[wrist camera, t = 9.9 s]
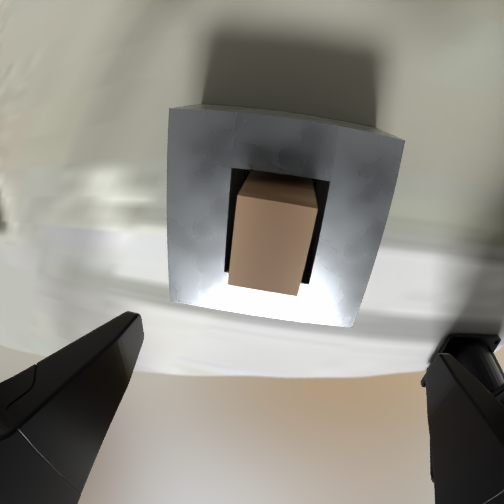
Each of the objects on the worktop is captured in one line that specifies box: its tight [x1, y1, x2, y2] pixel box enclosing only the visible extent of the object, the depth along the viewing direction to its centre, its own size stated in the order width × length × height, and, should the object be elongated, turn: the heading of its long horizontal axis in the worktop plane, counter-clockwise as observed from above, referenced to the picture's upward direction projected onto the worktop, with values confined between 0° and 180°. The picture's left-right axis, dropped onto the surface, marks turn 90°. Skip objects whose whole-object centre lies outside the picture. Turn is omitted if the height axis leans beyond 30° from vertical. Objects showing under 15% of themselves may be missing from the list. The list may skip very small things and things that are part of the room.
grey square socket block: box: [167, 104, 405, 328], centre depth 16 cm, size 10×10×5 cm
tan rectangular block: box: [228, 170, 318, 296], centre depth 16 cm, size 3×4×7 cm
